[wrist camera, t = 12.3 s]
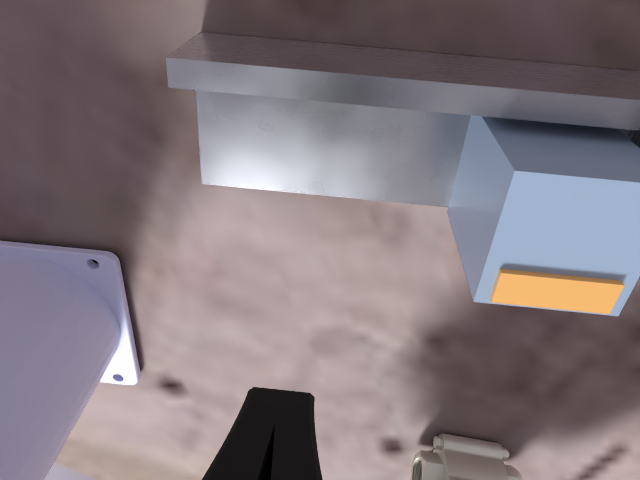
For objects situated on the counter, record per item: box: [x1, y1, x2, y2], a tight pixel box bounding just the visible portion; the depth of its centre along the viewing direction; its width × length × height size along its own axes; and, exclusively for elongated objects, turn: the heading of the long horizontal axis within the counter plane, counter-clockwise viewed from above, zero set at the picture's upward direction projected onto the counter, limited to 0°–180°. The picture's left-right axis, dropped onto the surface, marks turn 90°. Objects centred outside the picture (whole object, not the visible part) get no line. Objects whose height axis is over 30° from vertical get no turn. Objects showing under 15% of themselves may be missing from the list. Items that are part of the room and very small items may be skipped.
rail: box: [165, 32, 640, 207], centre depth 15 cm, size 18×5×6 cm, turn 86°
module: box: [447, 115, 640, 316], centre depth 15 cm, size 4×4×5 cm
